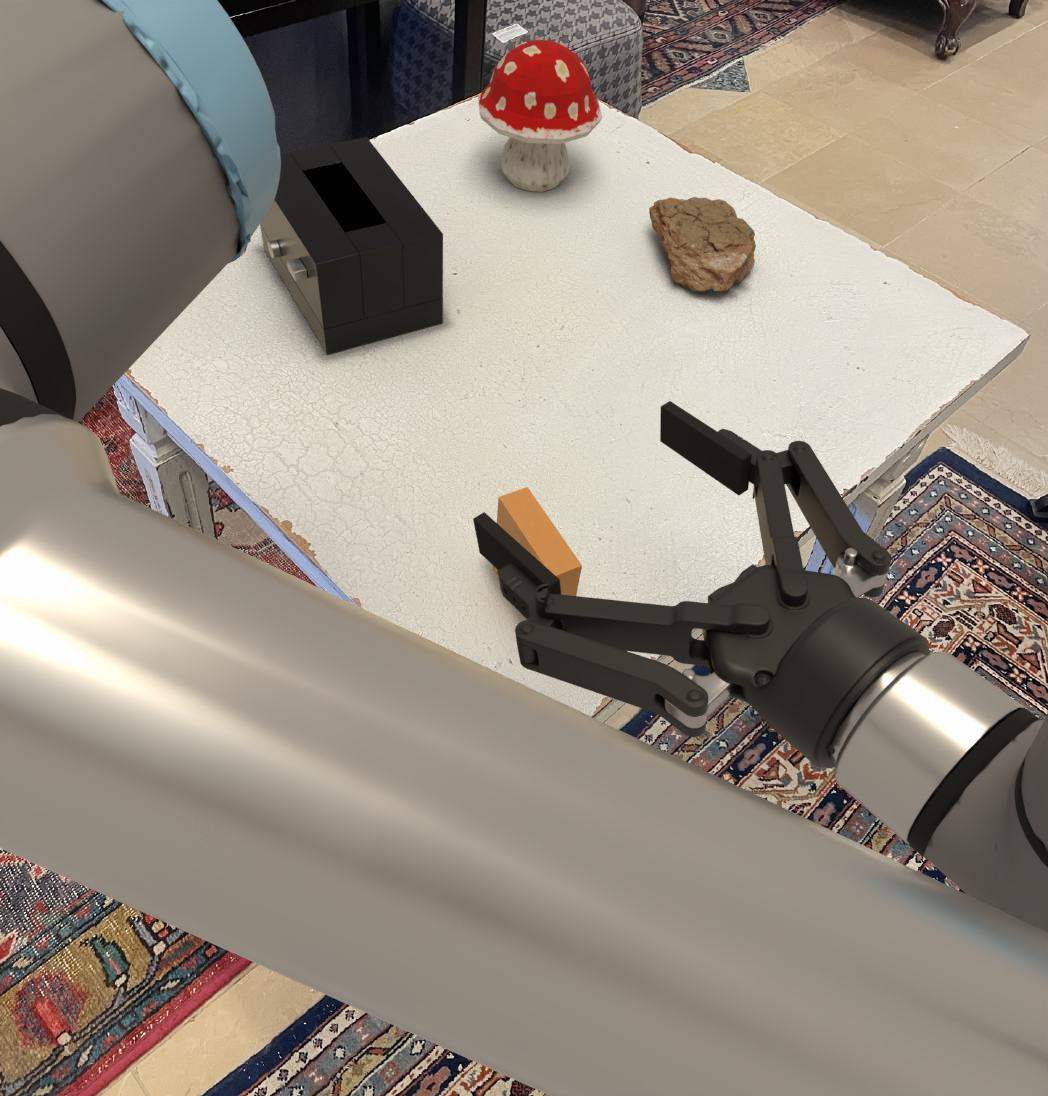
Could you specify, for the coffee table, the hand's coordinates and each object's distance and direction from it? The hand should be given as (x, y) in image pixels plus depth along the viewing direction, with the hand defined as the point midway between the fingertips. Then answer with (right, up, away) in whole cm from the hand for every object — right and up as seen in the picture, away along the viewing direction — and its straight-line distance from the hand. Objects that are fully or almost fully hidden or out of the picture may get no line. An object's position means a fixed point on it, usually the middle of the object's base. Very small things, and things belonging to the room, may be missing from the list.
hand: (576, 474), depth 55 cm
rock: (+16, +26, +48) cm, 57 cm away
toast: (-3, -8, +19) cm, 21 cm away
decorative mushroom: (-2, +39, +57) cm, 69 cm away
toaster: (-21, +22, +42) cm, 51 cm away
